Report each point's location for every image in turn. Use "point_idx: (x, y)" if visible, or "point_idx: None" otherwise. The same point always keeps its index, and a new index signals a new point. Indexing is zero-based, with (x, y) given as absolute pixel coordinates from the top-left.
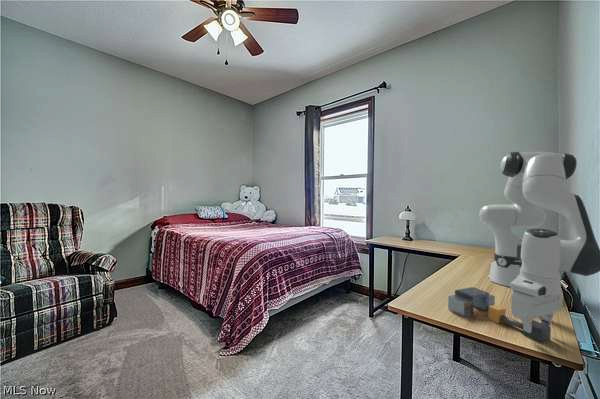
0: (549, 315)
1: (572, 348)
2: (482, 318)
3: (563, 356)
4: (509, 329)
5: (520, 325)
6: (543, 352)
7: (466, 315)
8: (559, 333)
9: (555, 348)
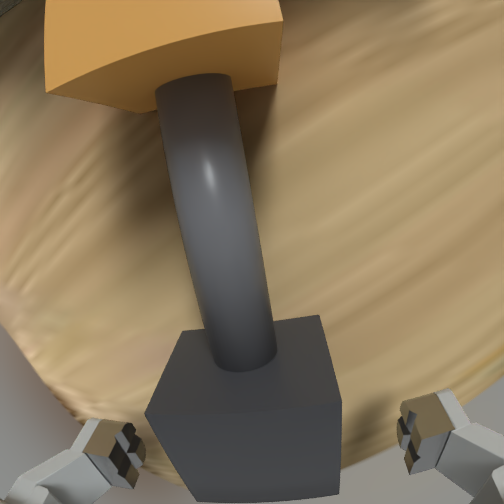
0: (479, 485)
1: None
2: None
3: None
4: (143, 235)
5: (204, 316)
6: None
7: (14, 3)
8: (490, 353)
9: None
